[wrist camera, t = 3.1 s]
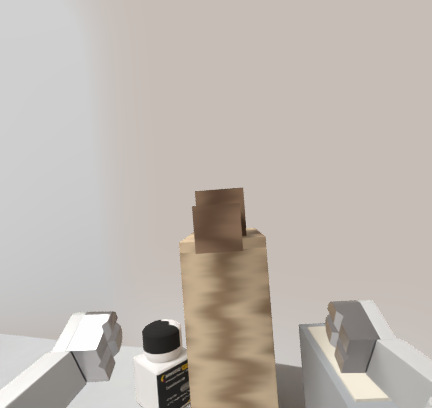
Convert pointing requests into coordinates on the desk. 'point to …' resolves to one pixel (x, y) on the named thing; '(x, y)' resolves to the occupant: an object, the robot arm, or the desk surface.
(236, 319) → the tall wooden pillar
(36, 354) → the desk surface
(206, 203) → the brown wooden bar
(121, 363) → the desk surface
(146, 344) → the medicine bottle
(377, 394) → the plinth
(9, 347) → the desk surface
